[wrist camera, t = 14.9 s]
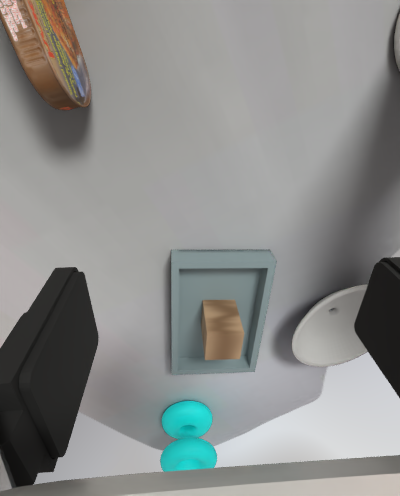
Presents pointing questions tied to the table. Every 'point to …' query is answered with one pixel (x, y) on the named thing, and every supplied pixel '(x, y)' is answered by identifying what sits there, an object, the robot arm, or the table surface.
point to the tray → (218, 288)
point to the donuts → (187, 437)
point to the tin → (48, 50)
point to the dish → (330, 330)
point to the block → (221, 330)
